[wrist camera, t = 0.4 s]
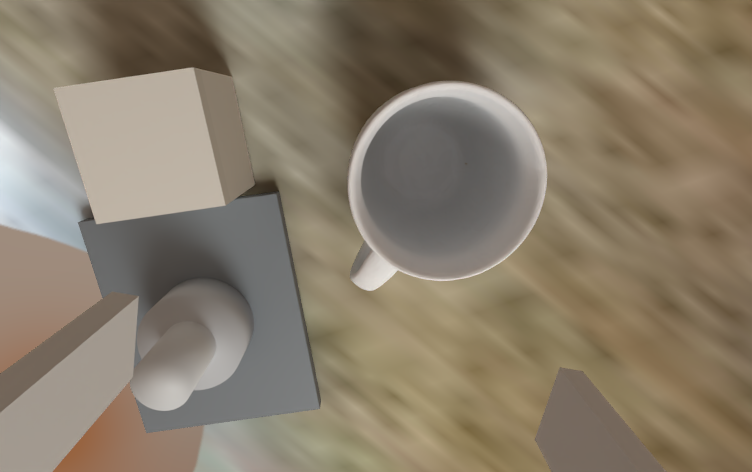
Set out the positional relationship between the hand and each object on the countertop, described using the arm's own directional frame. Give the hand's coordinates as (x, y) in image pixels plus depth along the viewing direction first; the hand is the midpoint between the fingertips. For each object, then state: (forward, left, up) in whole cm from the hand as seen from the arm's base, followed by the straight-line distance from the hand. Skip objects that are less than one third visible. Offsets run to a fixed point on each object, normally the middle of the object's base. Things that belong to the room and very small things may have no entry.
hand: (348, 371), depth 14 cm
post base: (+8, -14, -25) cm, 30 cm away
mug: (-2, +5, -25) cm, 26 cm away
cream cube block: (-7, -12, -25) cm, 29 cm away
